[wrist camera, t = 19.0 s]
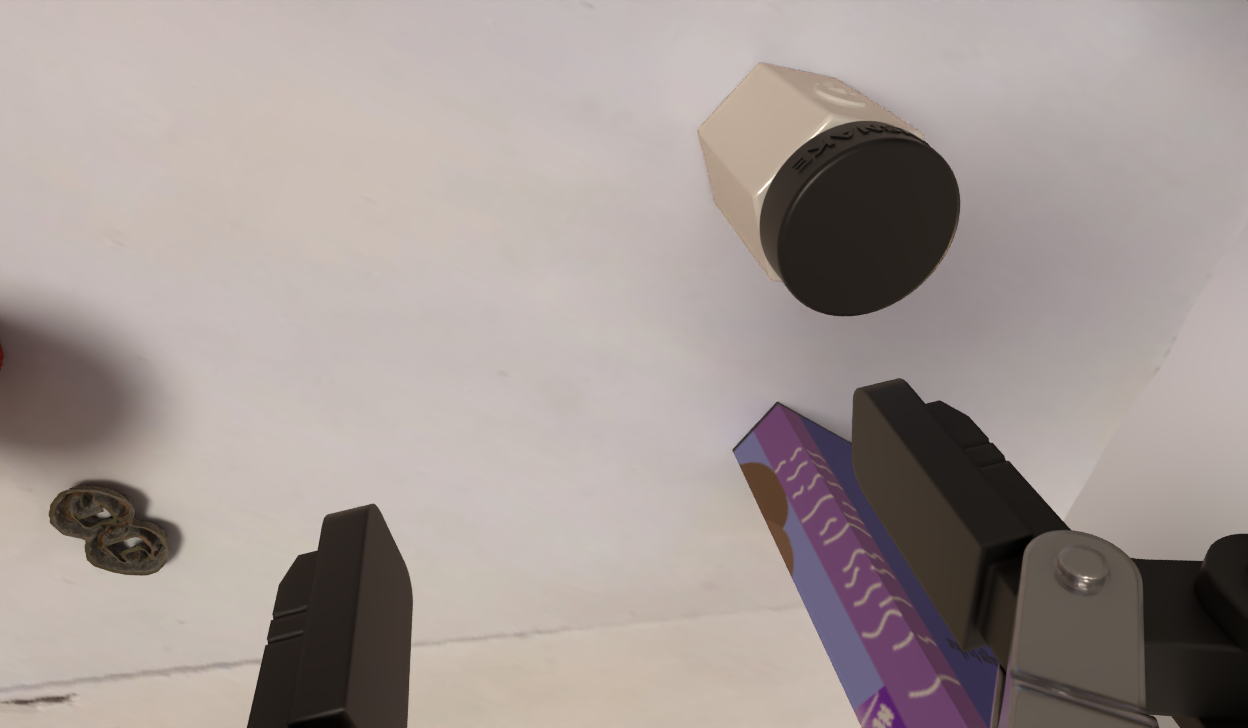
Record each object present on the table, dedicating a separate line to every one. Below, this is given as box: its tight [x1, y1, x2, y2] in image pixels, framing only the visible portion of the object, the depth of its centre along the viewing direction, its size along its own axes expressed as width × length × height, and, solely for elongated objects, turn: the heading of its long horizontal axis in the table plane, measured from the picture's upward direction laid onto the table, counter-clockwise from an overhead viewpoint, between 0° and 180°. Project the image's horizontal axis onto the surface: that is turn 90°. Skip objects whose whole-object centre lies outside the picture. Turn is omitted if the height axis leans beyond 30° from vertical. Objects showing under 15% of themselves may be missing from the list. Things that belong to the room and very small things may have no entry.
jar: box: [698, 63, 960, 316], centre depth 37 cm, size 9×8×12 cm
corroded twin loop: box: [49, 485, 170, 575], centre depth 48 cm, size 5×8×1 cm, turn 16°
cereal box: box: [733, 402, 999, 728], centre depth 48 cm, size 17×5×24 cm, turn 53°
